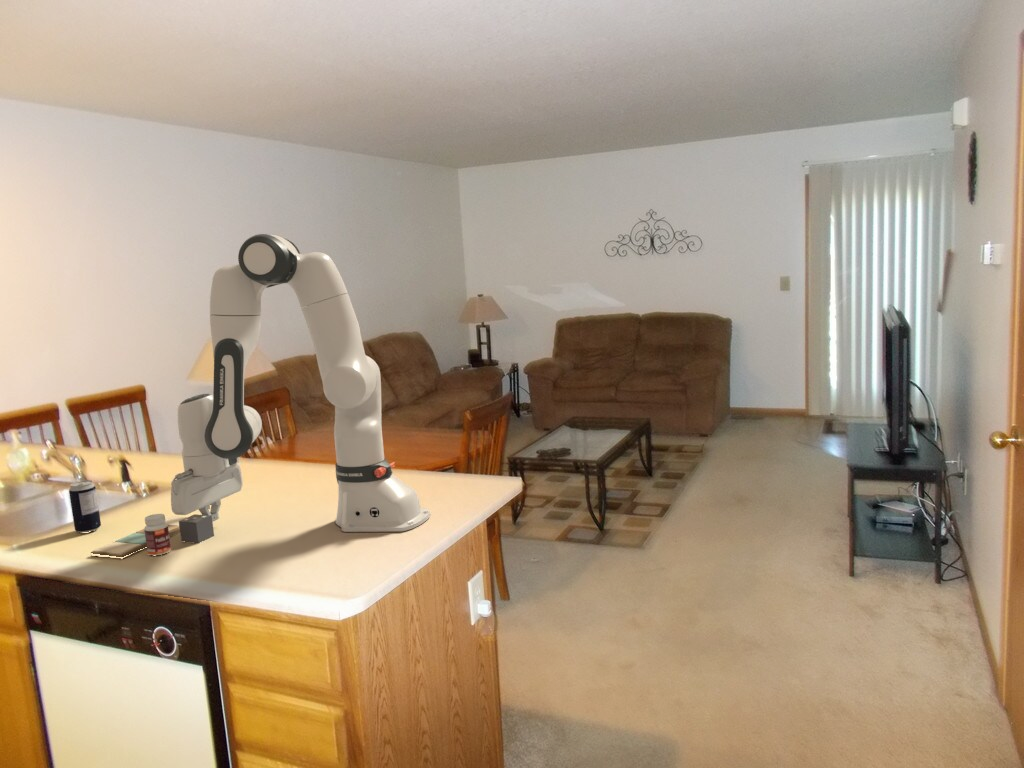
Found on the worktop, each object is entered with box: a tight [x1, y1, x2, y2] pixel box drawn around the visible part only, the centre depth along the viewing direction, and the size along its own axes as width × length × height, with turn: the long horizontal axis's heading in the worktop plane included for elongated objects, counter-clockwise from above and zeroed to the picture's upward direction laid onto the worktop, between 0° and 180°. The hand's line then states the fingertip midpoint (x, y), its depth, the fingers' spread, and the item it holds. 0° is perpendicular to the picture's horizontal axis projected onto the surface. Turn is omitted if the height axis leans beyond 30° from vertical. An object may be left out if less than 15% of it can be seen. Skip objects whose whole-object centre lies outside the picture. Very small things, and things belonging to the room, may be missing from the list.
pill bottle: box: [143, 513, 172, 556], centre depth 174 cm, size 5×5×8 cm
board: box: [90, 516, 187, 557], centre depth 184 cm, size 9×24×1 cm, turn 160°
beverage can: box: [68, 480, 102, 533], centre depth 192 cm, size 6×6×12 cm
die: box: [179, 514, 215, 544], centre depth 182 cm, size 5×5×5 cm
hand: (211, 521), depth 186 cm, fingers closed
